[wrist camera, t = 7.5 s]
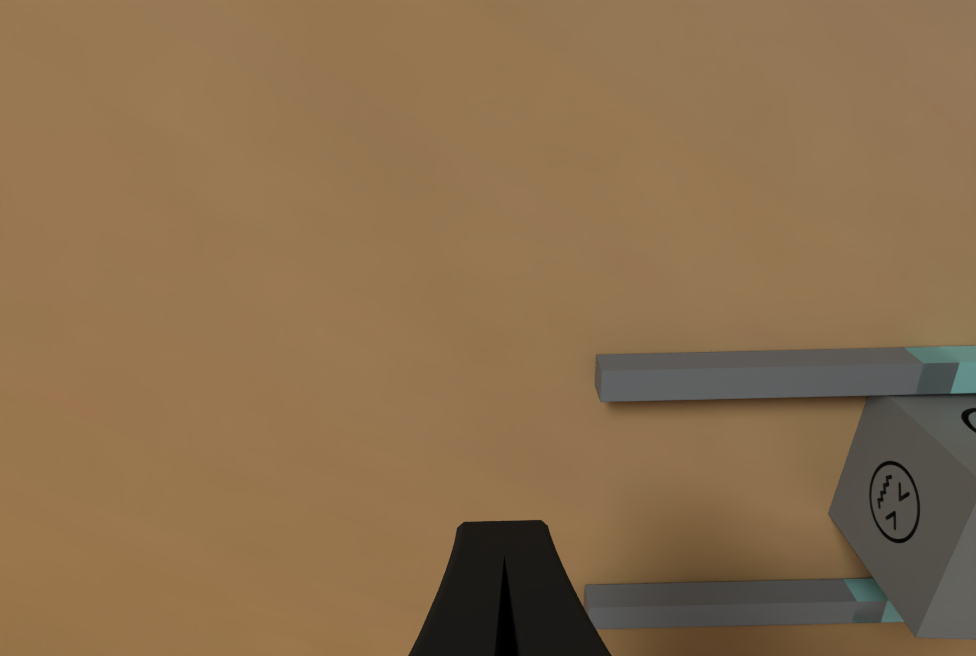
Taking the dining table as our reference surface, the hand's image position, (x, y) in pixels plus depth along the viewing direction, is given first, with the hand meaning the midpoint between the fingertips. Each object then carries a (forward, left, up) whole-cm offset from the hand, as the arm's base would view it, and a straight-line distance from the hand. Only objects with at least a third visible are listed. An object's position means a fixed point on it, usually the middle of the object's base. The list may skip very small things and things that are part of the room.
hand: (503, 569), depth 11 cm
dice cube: (-5, -14, -10) cm, 17 cm away
